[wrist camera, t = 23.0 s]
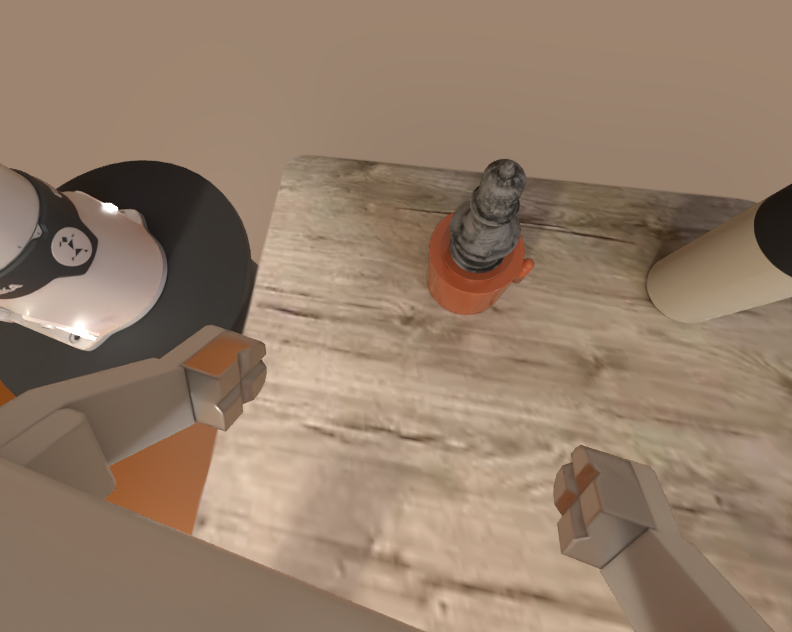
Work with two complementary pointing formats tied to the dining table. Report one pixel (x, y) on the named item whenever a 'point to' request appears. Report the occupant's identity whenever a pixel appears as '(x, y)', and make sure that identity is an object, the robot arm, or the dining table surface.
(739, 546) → the dining table surface
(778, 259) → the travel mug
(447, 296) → the coffee cup
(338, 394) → the dining table surface
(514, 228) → the grey chess piece
